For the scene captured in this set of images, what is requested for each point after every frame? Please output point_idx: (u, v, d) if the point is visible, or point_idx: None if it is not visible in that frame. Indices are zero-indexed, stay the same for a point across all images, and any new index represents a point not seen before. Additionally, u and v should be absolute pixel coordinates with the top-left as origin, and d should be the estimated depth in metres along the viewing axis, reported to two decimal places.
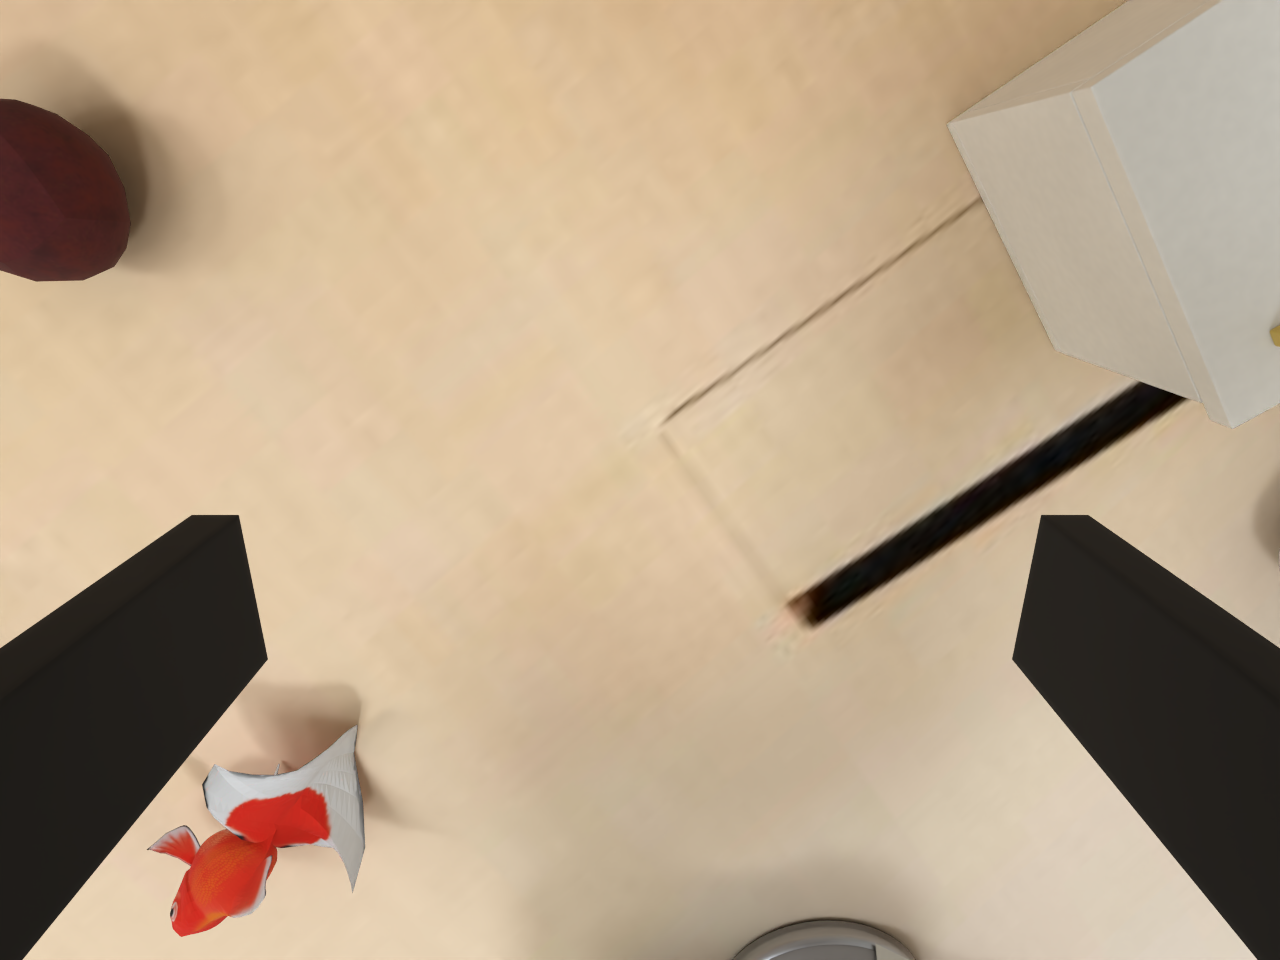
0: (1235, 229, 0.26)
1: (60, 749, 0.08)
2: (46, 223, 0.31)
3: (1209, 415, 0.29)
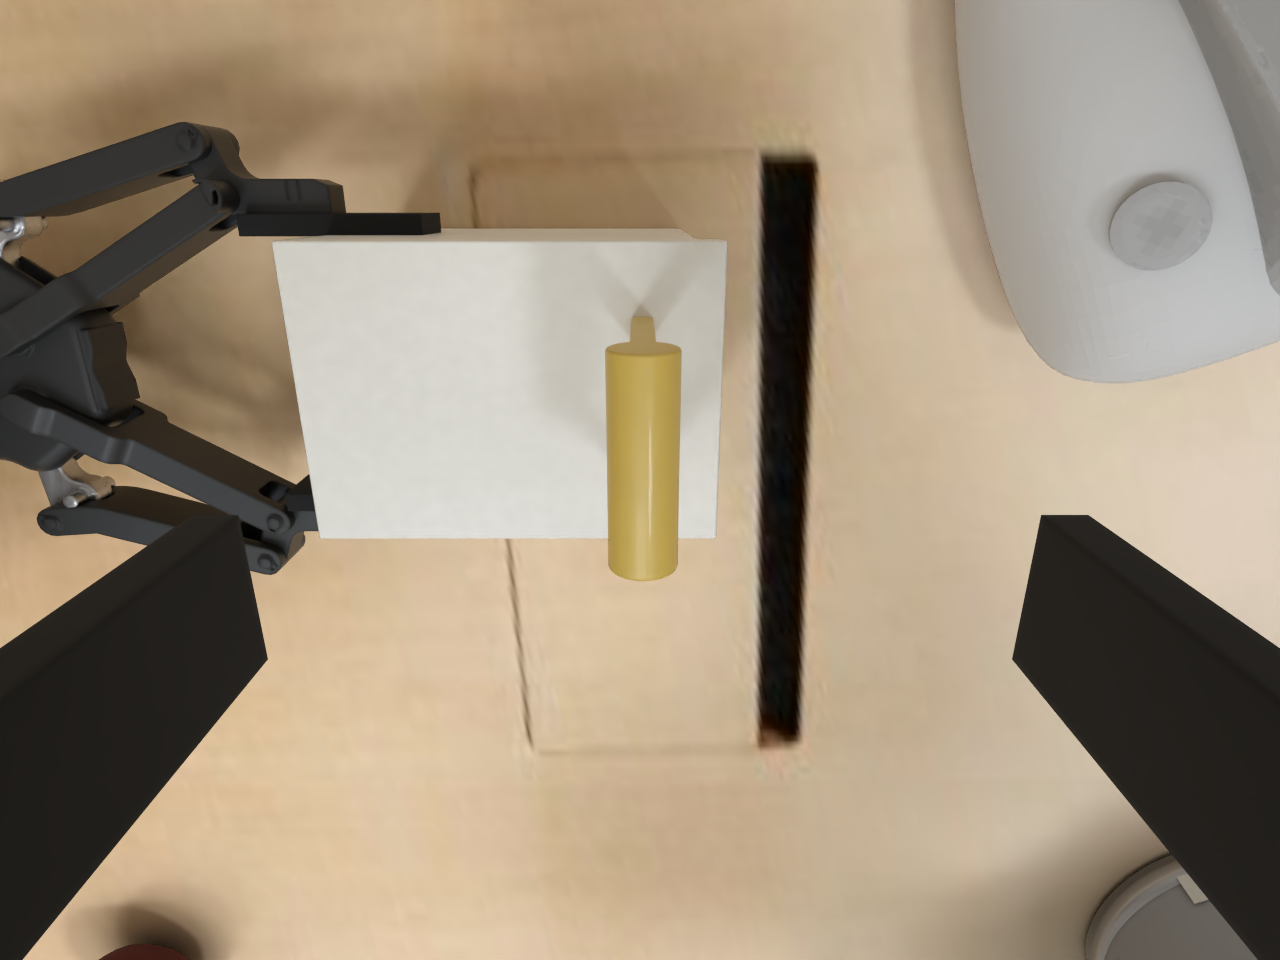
0: (513, 473, 0.25)
1: (60, 749, 0.08)
2: None
3: None
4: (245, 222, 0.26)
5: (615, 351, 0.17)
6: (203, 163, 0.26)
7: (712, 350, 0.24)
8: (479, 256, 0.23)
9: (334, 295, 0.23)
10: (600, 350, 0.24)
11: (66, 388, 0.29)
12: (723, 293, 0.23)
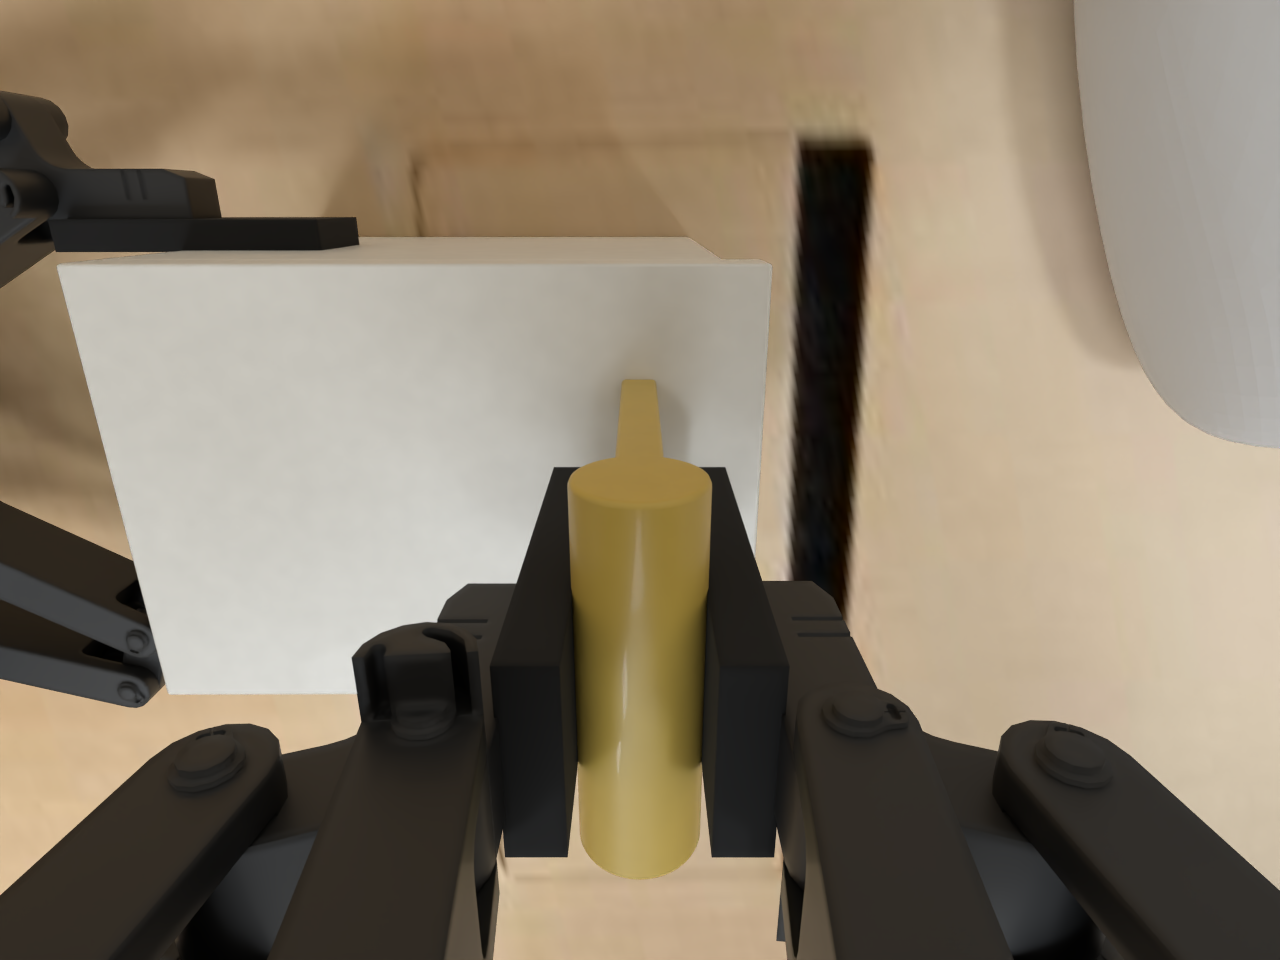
0: None
1: None
2: None
3: None
4: (63, 232, 0.18)
5: (585, 491, 0.09)
6: (1, 146, 0.18)
7: (746, 429, 0.16)
8: (383, 287, 0.15)
9: (161, 347, 0.15)
10: (576, 429, 0.16)
11: None
12: (764, 344, 0.15)
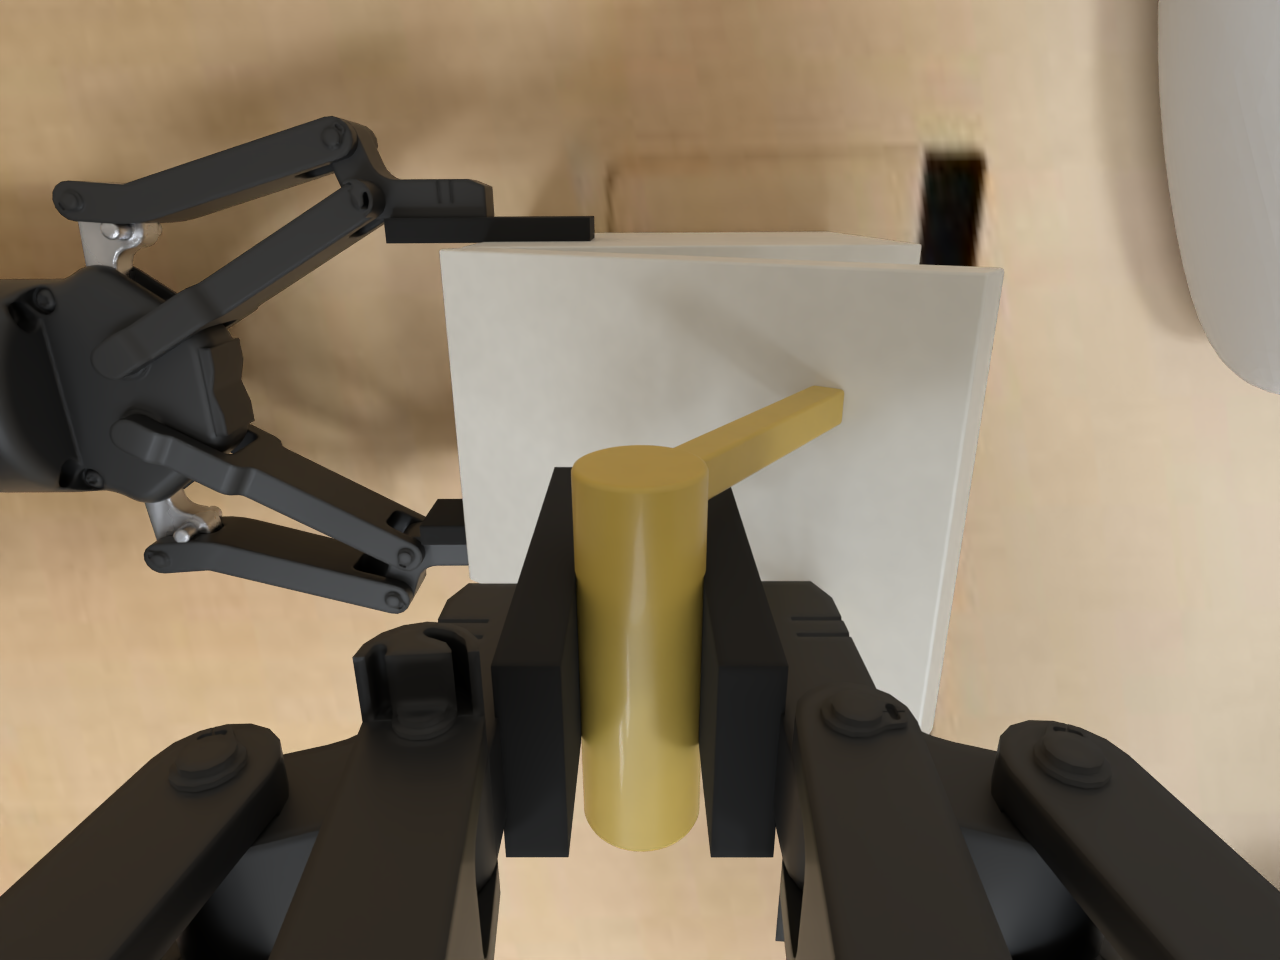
0: None
1: None
2: None
3: None
4: (394, 228, 0.24)
5: (577, 464, 0.10)
6: (347, 162, 0.24)
7: (939, 460, 0.14)
8: (624, 278, 0.17)
9: (486, 315, 0.20)
10: None
11: (183, 412, 0.26)
12: (970, 365, 0.13)
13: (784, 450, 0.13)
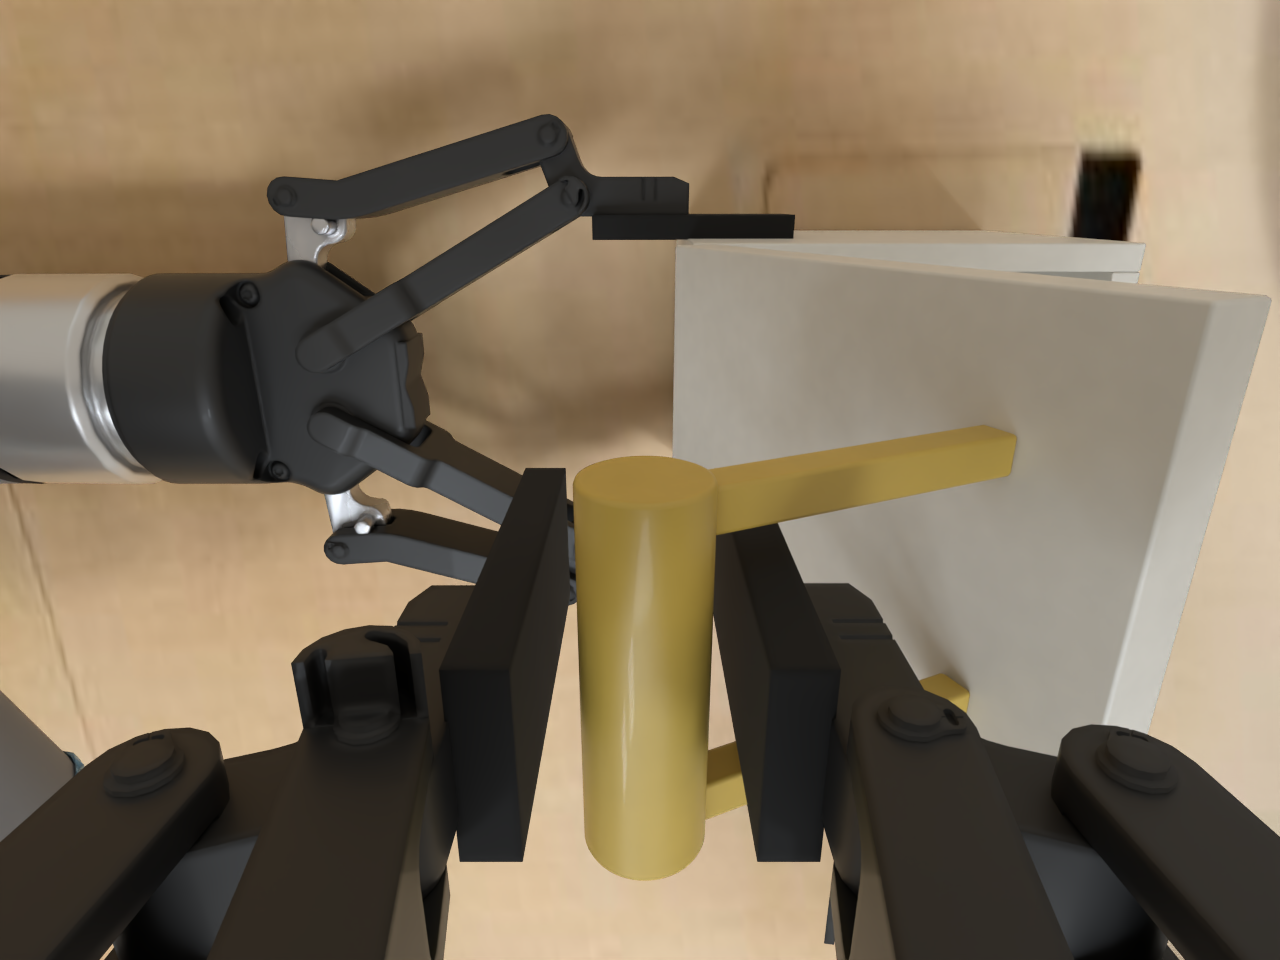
0: None
1: (539, 638, 0.10)
2: None
3: None
4: (601, 224, 0.24)
5: (588, 467, 0.10)
6: (555, 160, 0.24)
7: (1123, 545, 0.10)
8: (814, 282, 0.15)
9: (703, 312, 0.20)
10: None
11: (375, 405, 0.26)
12: (1177, 426, 0.09)
13: (885, 494, 0.11)
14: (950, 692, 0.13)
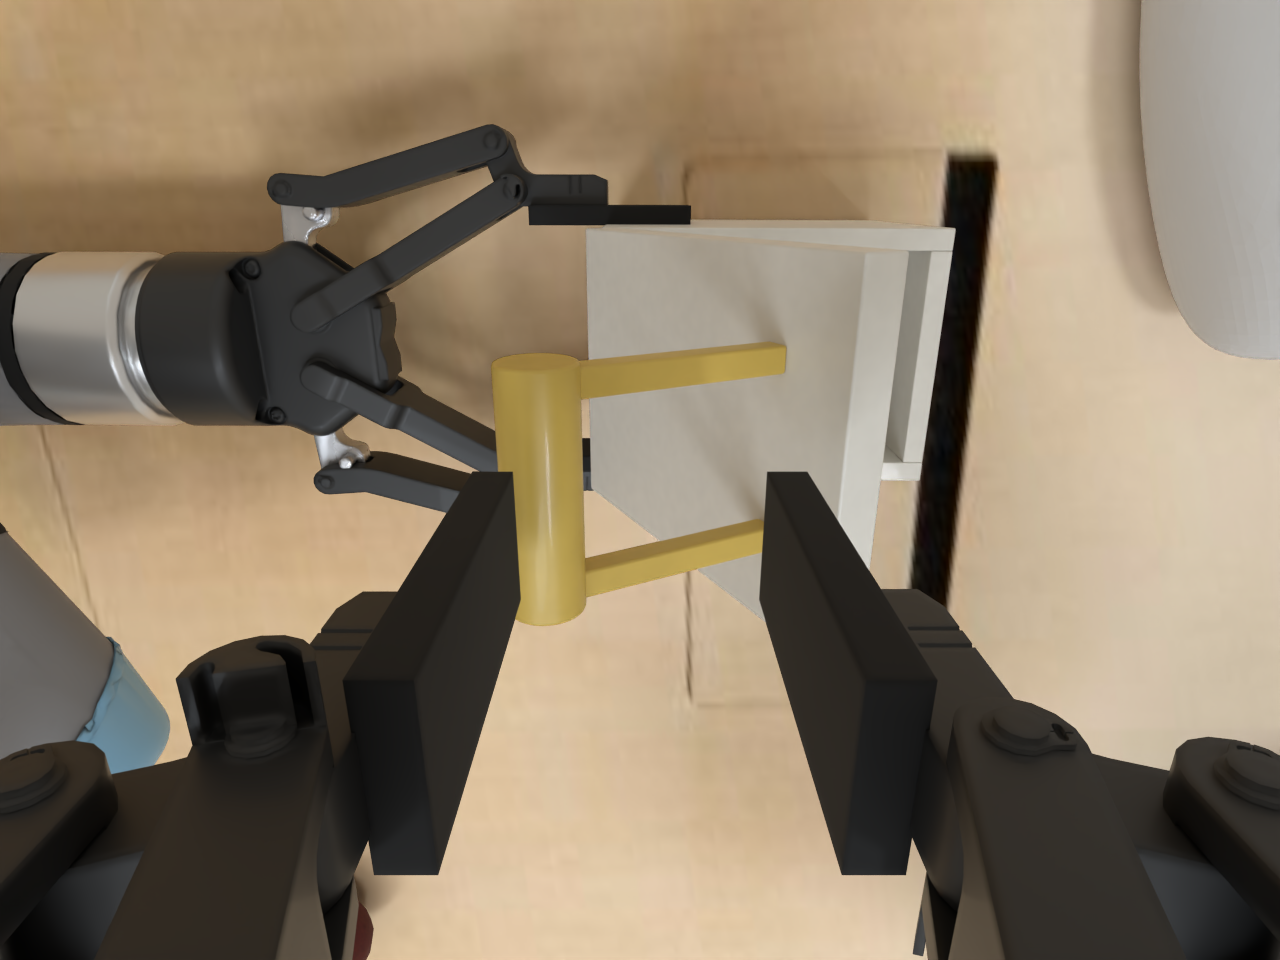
0: (680, 487, 0.23)
1: (467, 645, 0.10)
2: None
3: None
4: (535, 212, 0.30)
5: None
6: (499, 160, 0.30)
7: (838, 408, 0.17)
8: (675, 252, 0.21)
9: (605, 279, 0.26)
10: None
11: (355, 360, 0.32)
12: (856, 329, 0.16)
13: (695, 380, 0.17)
14: (759, 527, 0.19)
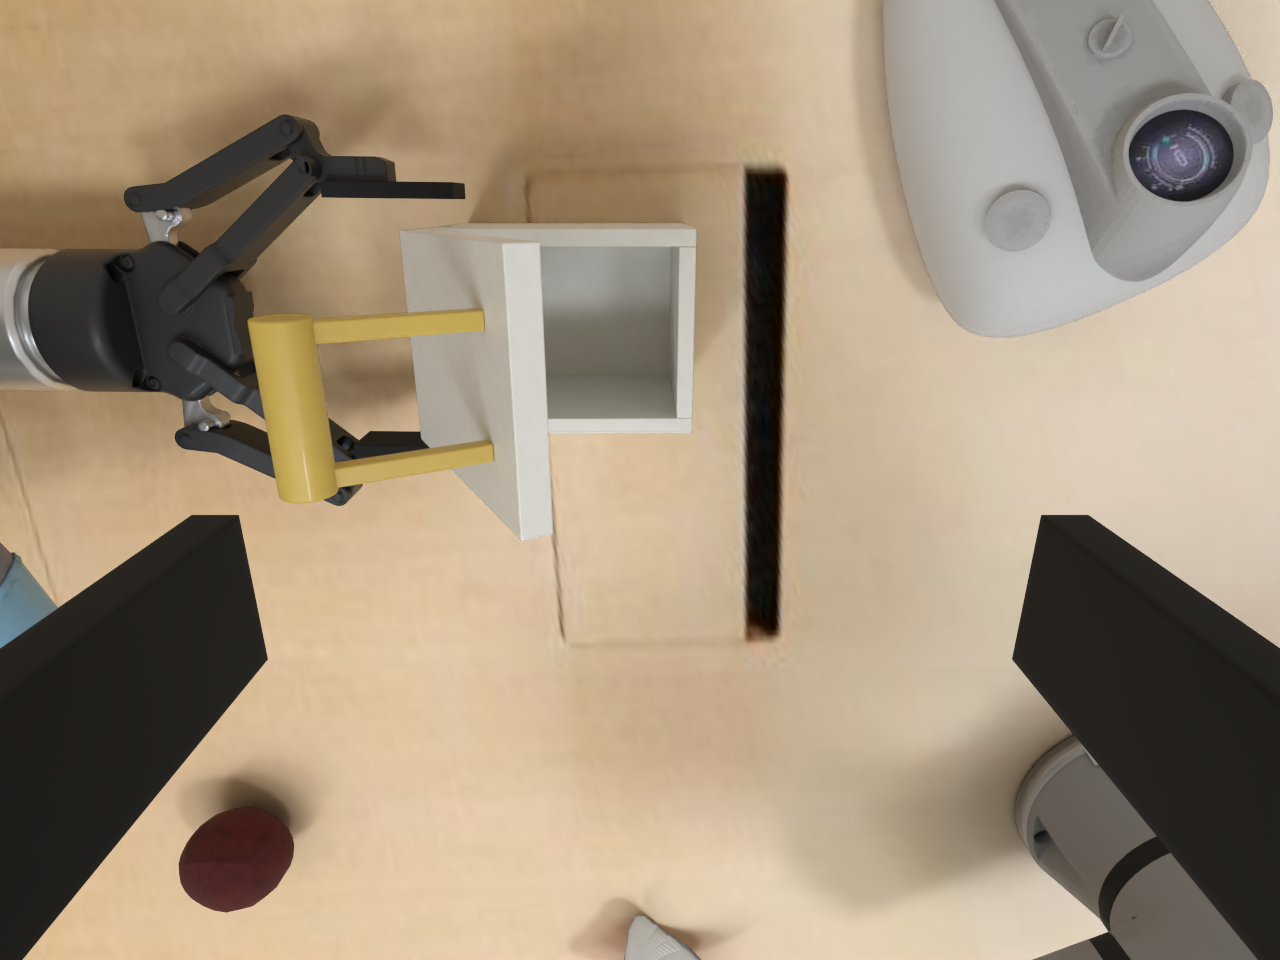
0: (457, 425, 0.31)
1: (60, 749, 0.08)
2: (247, 874, 0.54)
3: None
4: (326, 187, 0.37)
5: None
6: (299, 143, 0.37)
7: (505, 351, 0.24)
8: (436, 246, 0.29)
9: (410, 269, 0.33)
10: (471, 335, 0.27)
11: (214, 338, 0.40)
12: (504, 295, 0.23)
13: (408, 333, 0.24)
14: (482, 444, 0.27)
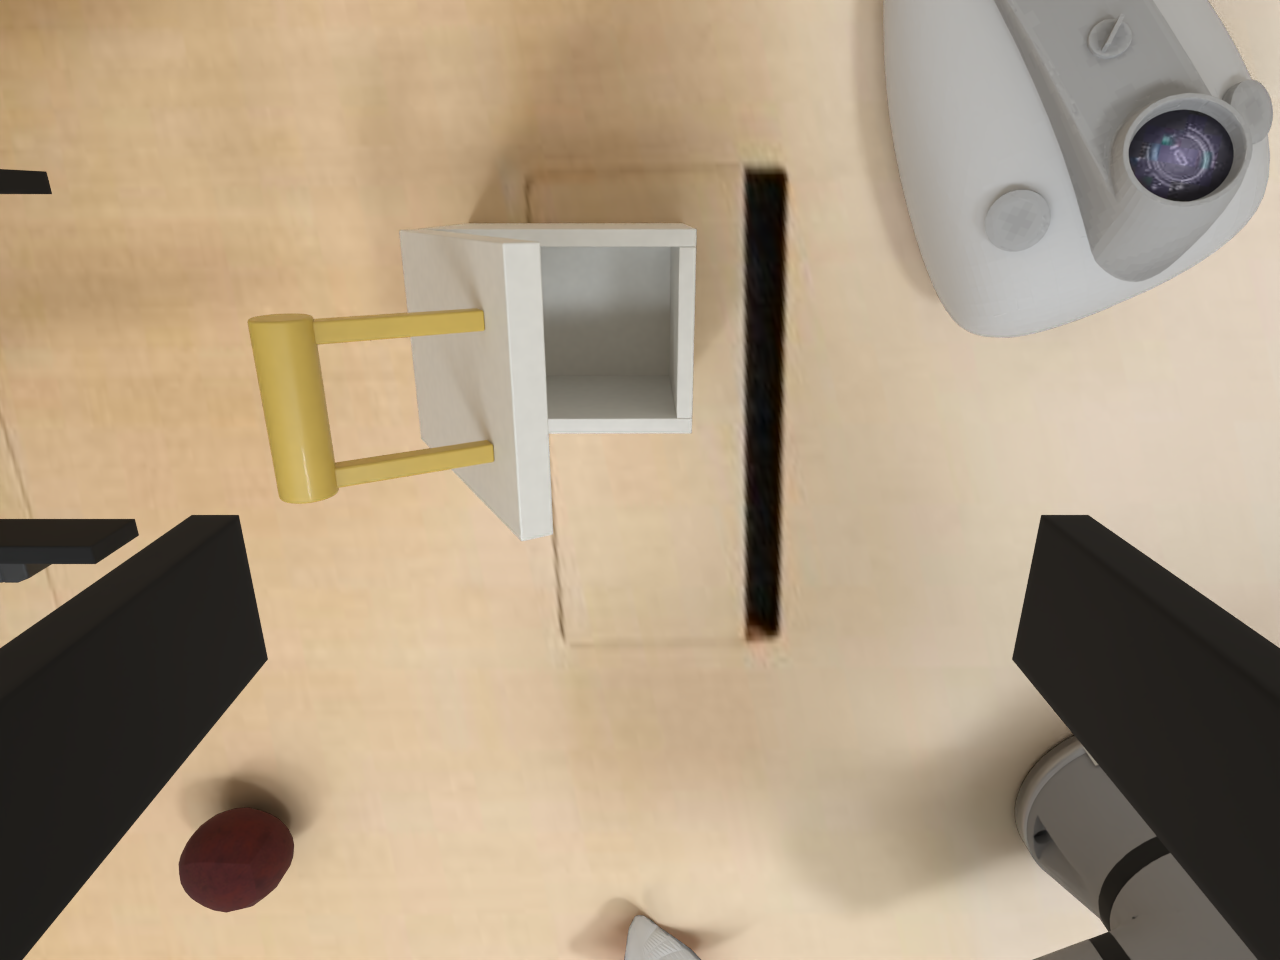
0: (457, 426, 0.31)
1: (60, 749, 0.08)
2: (247, 874, 0.54)
3: None
4: None
5: (260, 316, 0.23)
6: None
7: (505, 351, 0.24)
8: (436, 246, 0.29)
9: (410, 269, 0.33)
10: (471, 335, 0.27)
11: None
12: (505, 295, 0.23)
13: (408, 333, 0.24)
14: (482, 444, 0.27)
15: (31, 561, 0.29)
